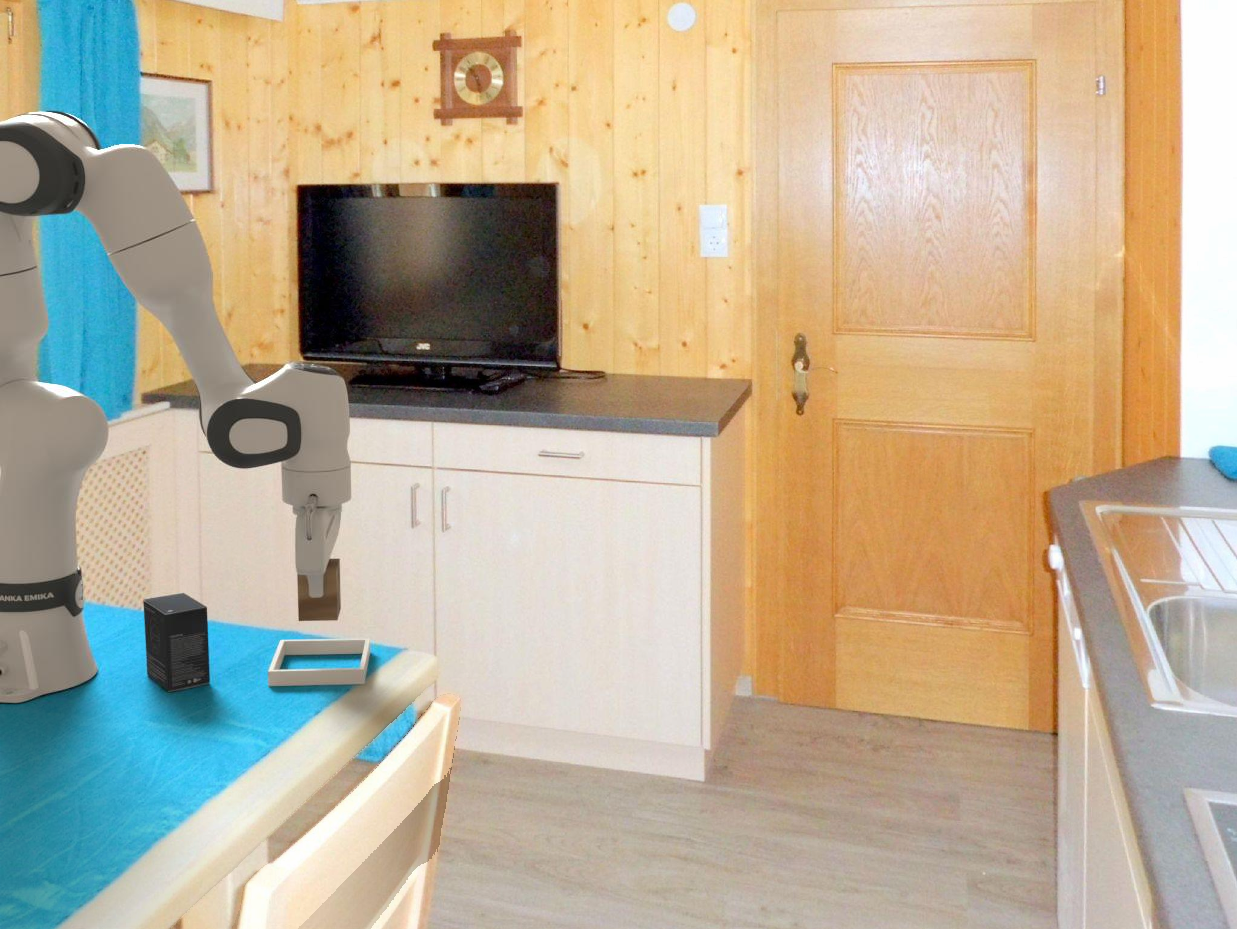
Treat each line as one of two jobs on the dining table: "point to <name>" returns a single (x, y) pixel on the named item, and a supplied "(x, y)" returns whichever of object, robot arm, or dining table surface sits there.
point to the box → (176, 641)
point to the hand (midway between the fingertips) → (319, 588)
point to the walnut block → (325, 605)
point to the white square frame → (319, 675)
